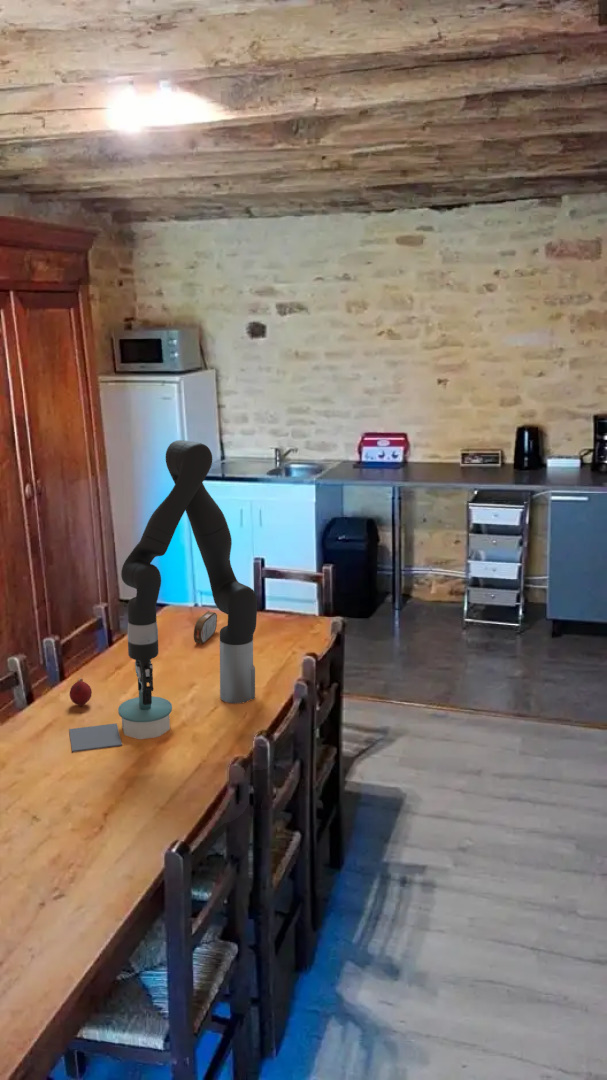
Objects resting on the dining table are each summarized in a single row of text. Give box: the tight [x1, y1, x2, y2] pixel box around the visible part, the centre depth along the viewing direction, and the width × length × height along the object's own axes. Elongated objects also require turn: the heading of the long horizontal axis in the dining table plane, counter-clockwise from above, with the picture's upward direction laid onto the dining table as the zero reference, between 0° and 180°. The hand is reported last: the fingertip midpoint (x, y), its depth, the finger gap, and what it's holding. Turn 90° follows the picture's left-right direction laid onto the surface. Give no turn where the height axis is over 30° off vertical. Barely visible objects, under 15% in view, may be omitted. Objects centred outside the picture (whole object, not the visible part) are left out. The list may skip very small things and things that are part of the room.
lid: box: [117, 689, 173, 722], centre depth 227 cm, size 14×14×5 cm
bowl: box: [121, 714, 171, 740], centre depth 228 cm, size 12×12×5 cm
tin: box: [193, 610, 218, 644], centre depth 291 cm, size 15×3×8 cm, turn 164°
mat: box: [68, 722, 123, 753], centre depth 223 cm, size 12×12×1 cm
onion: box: [69, 677, 92, 707], centre depth 240 cm, size 6×6×8 cm
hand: (144, 697), depth 227 cm, fingers open, 8 cm apart
